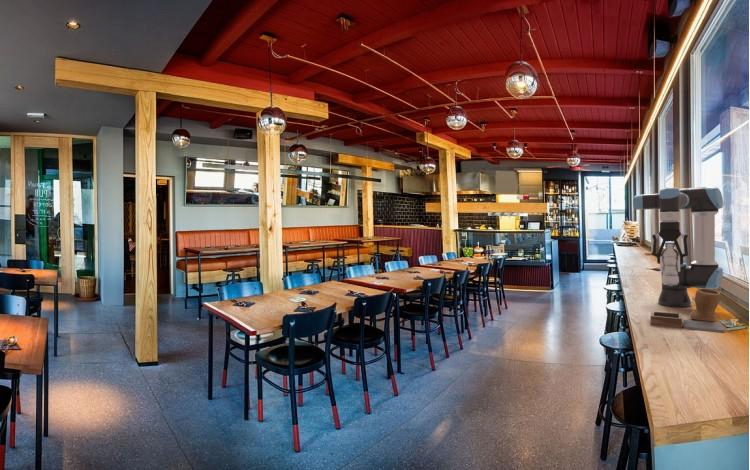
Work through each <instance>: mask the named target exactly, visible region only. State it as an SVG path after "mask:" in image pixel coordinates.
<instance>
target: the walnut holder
mask: <svg viewBox="0 0 750 470" xmlns="http://www.w3.org/2000/svg"><path fill="white" fill-rule="evenodd" d="M650 325H651V326H661V327H669V328H670V327H671V328H680V329H682V328H683V313H679V312H678V313H677V312H667V311H666V312H665V311H664V312H663V311H653V310H651V313H650Z"/></svg>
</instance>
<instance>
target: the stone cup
mask: <svg viewBox="0 0 750 470" xmlns="http://www.w3.org/2000/svg"><path fill="white" fill-rule="evenodd" d="M721 296H722V295H721V292H720V291H717V290H716V289H706V288H696V291H695V294H694V302H695V303H694V304H695V309H693V310H691V312H690V313H689V317H688V318H690V320H693V321H704V322H714V321H715V320H716V319H717V317H716V314H715V312H716V310H717V308H718V306H719V304H720V301H721Z"/></svg>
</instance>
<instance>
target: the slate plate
mask: <svg viewBox="0 0 750 470" xmlns="http://www.w3.org/2000/svg"><path fill="white" fill-rule="evenodd" d="M721 323H722V322H714V321H699V320H694V319H682V325H683V329H685V330H686V329H687V330H695V331H696V330H697V331H707V332H715V333H716V332H717V333H725V327H724V325H723V323H722V324H721Z"/></svg>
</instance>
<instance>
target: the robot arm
mask: <svg viewBox="0 0 750 470" xmlns="http://www.w3.org/2000/svg"><path fill="white" fill-rule="evenodd" d="M632 205H633V208H634V210H637V211H638V210H641V211H642V210H643V211H644V210H659V221H660V222H659V232H658V233H656V234H654V233H653V234H652V236H651V237H652V239H653V243H652V256H655V257H656V263H657V264H659V266H660V267H659V269H660V272H661V277H662V276H663V260H662V252H663V250H664V248H665V243H669V242H671V243H675V249H676V250H677V252H678V254H679V256H678V263H677V271H678V277H679V284H678V285H675V286H668V285H664V284H663V283H662V282H661V292H660V294H659V297H658V300H657V303H658V304H659V305H661V306H665V307H675V308H689V307H692V301H691V298H690V294H689V293H688V288H694V289H695V288H696V289H700V288H706V289H712V290H717V289H718V288H720V286H721V283H722V281H723V277H724V271H723V268H722V267H720V266H719V263H718V262H717V261H716V260H715V259H716V258H715V253H716V250H715V249H716V248H715V245H716V244H715V242H716V240H715V239H716V237H715V236H716V235H715V234H716V232H715V231H716V230H715V229H716V222H715V221H716V215H717V214H718V213H719V210H720V209H722V208H723V206H724V199H723V193H722V192H721V190H720V188H719V187H717V186H702V187H701V186H698V187H688V188H687V187H686V188H679V187H664V188H661V189H660V190H659V193H652V194H651V193H650V194H646V193H645V194H636V195H635V196H634V197H633V199H632ZM680 210H690V213H691V215H693V216H694V217H693V219H694V221H693V222H694V223H693V224H694V228H693V229H694V240H693V241H694V251H693V252H694V253H693V254H694V255H693V258H694V259H693V261H691V262H690V265H688V263H687V262H684V258H685V257H688V256H689V250H688V234H687V233H686V234H685V233H681V230H680V228H681V226H680V223H681V222H679V221H680V220H681V219H680V217H681V216H680V215H681V214H680V213H681V212H680ZM659 237H660V238H661V239H662V242H661V245H660V247H659V250H658V252H657V242H658V239H659ZM680 237H681V239H682V241H683V251H684V253H683V251H682V249H681V247H680V244H679V242H678V239H679V238H680Z"/></svg>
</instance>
